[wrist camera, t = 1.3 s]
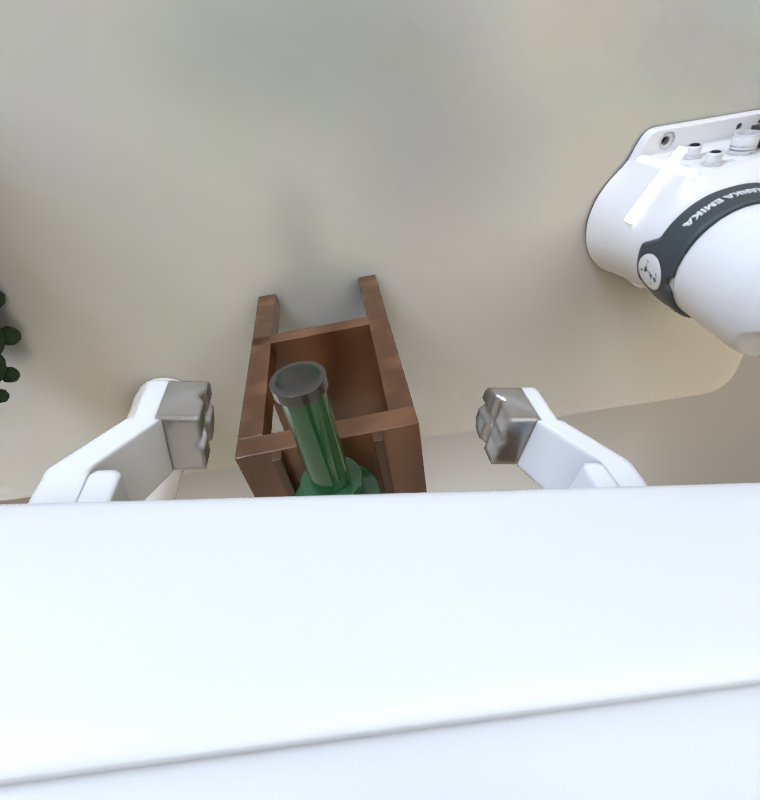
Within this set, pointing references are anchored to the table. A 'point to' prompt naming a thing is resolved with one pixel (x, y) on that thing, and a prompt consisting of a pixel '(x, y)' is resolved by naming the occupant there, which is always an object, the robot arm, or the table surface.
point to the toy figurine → (3, 372)
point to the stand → (332, 400)
